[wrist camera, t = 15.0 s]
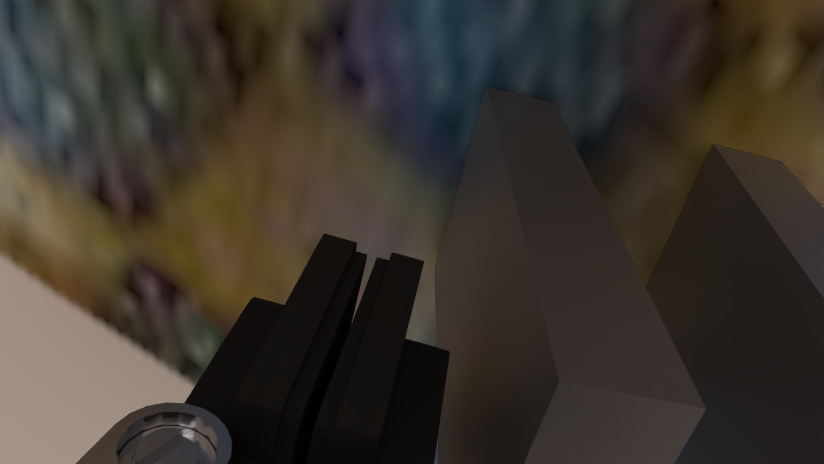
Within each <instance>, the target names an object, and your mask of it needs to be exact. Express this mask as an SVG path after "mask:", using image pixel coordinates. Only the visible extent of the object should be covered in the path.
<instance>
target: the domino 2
mask: <svg viewBox="0 0 824 464" xmlns="http://www.w3.org/2000/svg"><path fill="white" fill-rule="evenodd" d="M646 289H647V291H648V293H649V295H650V297H651V299H652V301H653V303H654V305H655V307H656V309H657V311H658V313H659V315H660V317H661V319H662V321H663V323H664V325H665V327H666V329H667V331H668V333H669V335H670V337H671V339H672V341H673V343H674V345H675V347H676V349H677V351H678V353H679V355H680V357H681V359H682V361H683V363H684V365H685V367H686V369H687V371H688V373H689V375H690V377H691V379H692V381H693V383H694V385H695V387H696V389H697V392H698V394H699V396H700V398H701V400H702V402H703V404H704V406H705V408H706V410H705V412H704V413H703V415H702V417H701V418H700V420H699V422H698V424H697V425H696V427H695V429H694V431H693V432H692V434H691V436H690V437H689V439H688V441H687V443H686V444H685V446H684V448H683V450H682V451H681V453H680V455H679V456H678V458H677V460H676V462H675V463H674V464H824V208H823V207H822V206H821V205H820V204H819V203H818V202H817V201H816V200H815V198H814V197H813V196H812V195H811V194H810V193H809V192H808V191H807V190H806V188H805V187H804V186H803V185H802V184H801V183H800V182H799V181H798V180H797V179H796V177H795V176H794V175H793V174H792V173H791V172H790V171H789V170H788V169H787V167H786V166H785V165H784V164H783V163H782V162H781V161H777V160H773V159H769V158H766V157H762V156H758V155H754V154H751V153H747V152H743V151H739V150H735V149H732V148H728V147H724V146H720V145H716V144H713V145H712V148H711V150H710V152H709V154H708V156H707V158H706V160H705V163H704V165H703V167H702V169H701V171H700V173H699V175H698V178H697V180H696V182H695V184H694V186H693V188H692V190H691V192H690V195H689V197H688V199H687V201H686V203H685V205H684V207H683V210H682V212H681V214H680V216H679V218H678V220H677V222H676V224H675V227H674V229H673V231H672V233H671V235H670V237H669V239H668V242H667V244H666V246H665V248H664V250H663V252H662V254H661V257H660V259H659V261H658V263H657V265H656V267H655V269H654V271H653V274H652V276H651V278H650V280H649V282H648V284H647V286H646Z"/></svg>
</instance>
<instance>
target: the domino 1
mask: <svg viewBox="0 0 824 464" xmlns="http://www.w3.org/2000/svg"><path fill="white" fill-rule="evenodd" d="M435 300H436V347H437V348H440V349H444V350H448V351H449V352H450V356H449V364H448V371H447V377H446V384H445V391H444V398H443V404H442V411H441V418H440V425H439V431H438V460H439V464H674V463H675V462H676V460H677V458H678V456H679V455H680V453H681V451H682V450H683V448H684V446H685V444H686V443H687V441H688V439H689V437H690V436H691V434H692V432H693V431H694V429H695V427H696V425H697V424H698V422H699V420H700V418H701V417H702V415H703V413H704V412H705V410H706V408H705V406H704V404H703V402H702V400H701V398H700V396H699V394H698V392H697V389H696V387H695V385H694V383H693V381H692V379H691V377H690V375H689V373H688V371H687V369H686V367H685V365H684V363H683V361H682V359H681V357H680V355H679V353H678V351H677V349H676V347H675V345H674V343H673V341H672V339H671V337H670V335H669V333H668V331H667V329H666V327H665V325H664V323H663V321H662V319H661V317H660V315H659V313H658V311H657V309H656V307H655V305H654V303H653V301H652V299H651V297H650V295H649V293H648V291H647V289H646V287H645V285H644V283H643V281H642V279H641V277H640V275H639V273H638V271H637V269H636V267H635V265H634V263H633V261H632V259H631V257H630V255H629V253H628V251H627V249H626V247H625V245H624V243H623V241H622V239H621V237H620V235H619V233H618V231H617V229H616V227H615V225H614V223H613V221H612V219H611V217H610V215H609V213H608V211H607V209H606V207H605V205H604V203H603V201H602V199H601V197H600V195H599V193H598V191H597V189H596V187H595V185H594V183H593V181H592V179H591V177H590V175H589V173H588V171H587V169H586V167H585V165H584V163H583V161H582V159H581V157H580V155H579V153H578V151H577V149H576V147H575V145H574V143H573V141H572V139H571V136H570V134H569V132H568V130H567V128H566V126H565V124H564V122H563V120H562V118H561V116H560V114H559V112H558V110H557V108H556V106H555V104H554V102H553V101H548V100H544V99H540V98H535V97H531V96H526V95H522V94H518V93H513V92H509V91H504V90H500V89H496V88H491V87H487V86H486V89H485V92H484V96H483V99H482V103H481V106H480V110H479V113H478V117H477V120H476V124H475V128H474V131H473V135H472V138H471V142H470V145H469V149H468V152H467V156H466V159H465V163H464V166H463V170H462V173H461V177H460V180H459V184H458V187H457V191H456V194H455V198H454V201H453V205H452V208H451V212H450V216H449V219H448V223H447V226H446V230H445V233H444V237H443V240H442V244H441V247H440V251H439V254H438V258H437V261H436V265H435Z"/></svg>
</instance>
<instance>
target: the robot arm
mask: <svg viewBox="0 0 824 464" xmlns="http://www.w3.org/2000/svg"><path fill="white" fill-rule="evenodd" d="M356 248H357V242H353V241H349V240H346V239H342V238H338V237H335V236H331V235H328V234H324V235H323V236H322V238H321V240H320V241H319V243H318V245H317V247H316V249H315V251H314V252H313V254H312V256H311V258H310V260H309V262H308V263H307V265H306V267H305V269H304V271H303V272H302V274H301V276H300V278H299V280H298V282H297V283H296V285H295V287H294V289H293V291H292V293H291V294H290V296H289V298H288V300H287V302H286V304H285V305H282V304H278V303H275V302H271V301H267V300H264V299H260V298H257V297H254V298H252V299H251V300H250V301H249V303H248V304H247V306H246V307H245V309H244V310H243V312H242V313H241V315H240V317H239V318H238V320H237V321H236V323H235V324H234V326H233V328H232V329H231V331H230V332H229V334H228V335H227V337H226V339H225V340H224V342H223V343H222V345H221V346H220V348H219V350H218V351H217V353H216V354H215V356H214V357H213V359H212V361H211V362H210V364H209V365H208V367H207V368H206V370H205V372H204V373H203V375H202V376H201V378H200V379H199V381H198V383H197V384H196V386H195V387H194V389H193V390H192V392H191V394H190V395H189V397H188V398H187V400H186V402H185V403H161V404H156V405H150V406H146V407H144V408H141V409H139V410H136V411H134V412H132V413H129V414H128V415H127V416H126V417H124V418H123V419H122V420H120V421H119V422H118V423H116V424H115V425H114V426H113V427H112V428H111V429H110V430H109V431H108V432H107V433H106V434H105V435H104V436H103V437H102V438H101V439H100V440H99V441H98V442H97V443H96V444H95V445H94V446H93V447H92V448H91V449H90V450H89V451H88V452H87V453H86V454H85V455H84V456H83V457H82V458H81V459H80V460H79V461H78V462H77V463H76V464H434V459H435V452H436V445H437V438H438V431H439V425H440V418H441V411H442V404H443V398H444V391H445V384H446V377H447V371H448V364H449V356H450V352H449V351H448V350H444V349H440V348H437V347H433V346H430V345H426V344H422V343H419V342H415V341H412V340H408V339H405V336H406V332H407V328H408V324H409V320H410V316H411V312H412V308H413V304H414V300H415V296H416V292H417V288H418V284H419V280H420V276H421V272H422V268H423V264H424V261H422V260H418V259H415V258H411V257H407V256H404V255H400V254H396V253H393V252H392V254H391V257H390V260H385V259H381V258H378V257H377V259H376V261H375V264H374V267H373V269H372V272H371V275H370V277H369V280H368V283H367V285H366V288H365V291H364V293H363V296H362V299H361V301H360V304H359V306H358V309H357V312H356V314H355V317H354V320H353V322H352V319H353V315H354V310H355V306H356V302H357V298H358V293H359V289H360V285H361V281H362V276H363V272H364V268H365V264H366V259H367V254H363V253H360V252H356ZM351 323H352V325H351ZM350 327H351V328H350Z"/></svg>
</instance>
